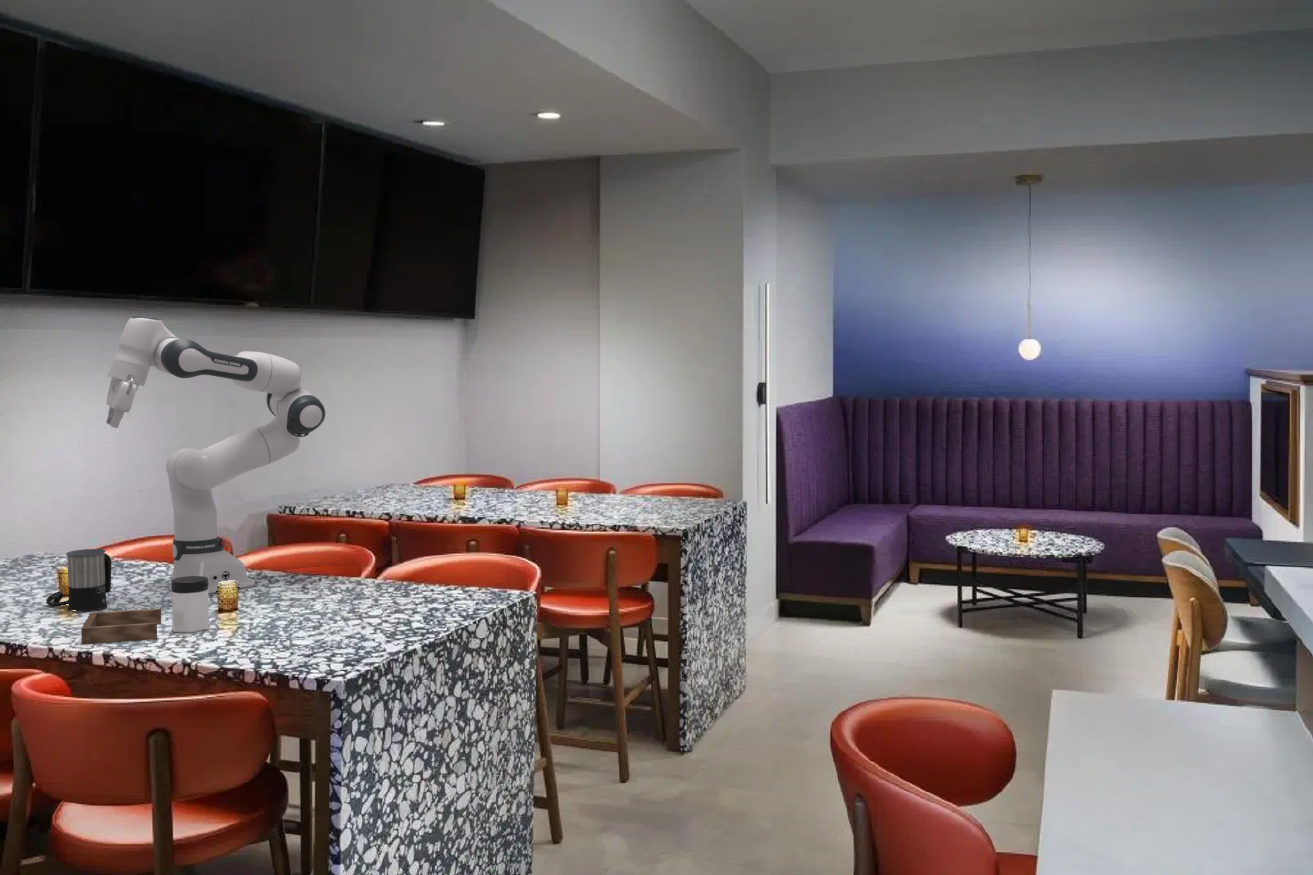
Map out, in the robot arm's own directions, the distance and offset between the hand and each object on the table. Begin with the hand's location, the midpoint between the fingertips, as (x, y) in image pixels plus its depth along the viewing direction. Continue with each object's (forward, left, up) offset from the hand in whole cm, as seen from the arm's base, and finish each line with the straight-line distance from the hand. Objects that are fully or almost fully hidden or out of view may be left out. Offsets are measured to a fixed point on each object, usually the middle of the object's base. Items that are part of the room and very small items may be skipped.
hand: (111, 425), depth 296 cm
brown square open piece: (+7, +35, -47) cm, 59 cm away
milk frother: (+9, -2, -47) cm, 48 cm away
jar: (-6, +40, -47) cm, 62 cm away
